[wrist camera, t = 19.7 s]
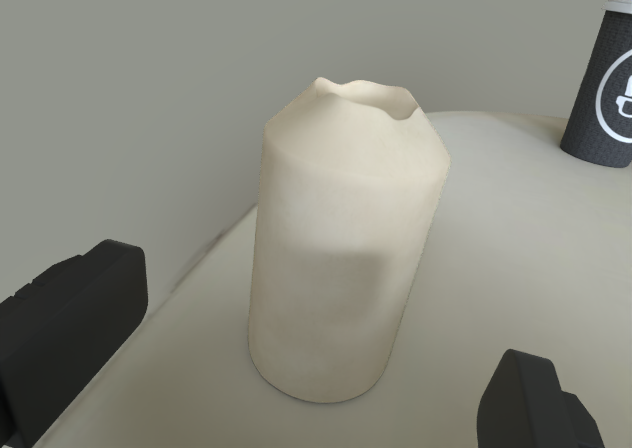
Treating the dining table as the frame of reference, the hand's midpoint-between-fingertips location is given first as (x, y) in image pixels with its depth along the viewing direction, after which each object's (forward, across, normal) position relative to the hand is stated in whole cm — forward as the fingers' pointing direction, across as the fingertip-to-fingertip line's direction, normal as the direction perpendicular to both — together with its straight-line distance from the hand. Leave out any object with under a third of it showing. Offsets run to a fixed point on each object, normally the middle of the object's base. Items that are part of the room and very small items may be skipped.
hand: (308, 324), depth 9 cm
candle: (+5, 0, +6) cm, 8 cm away
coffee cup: (+41, -21, +6) cm, 47 cm away
